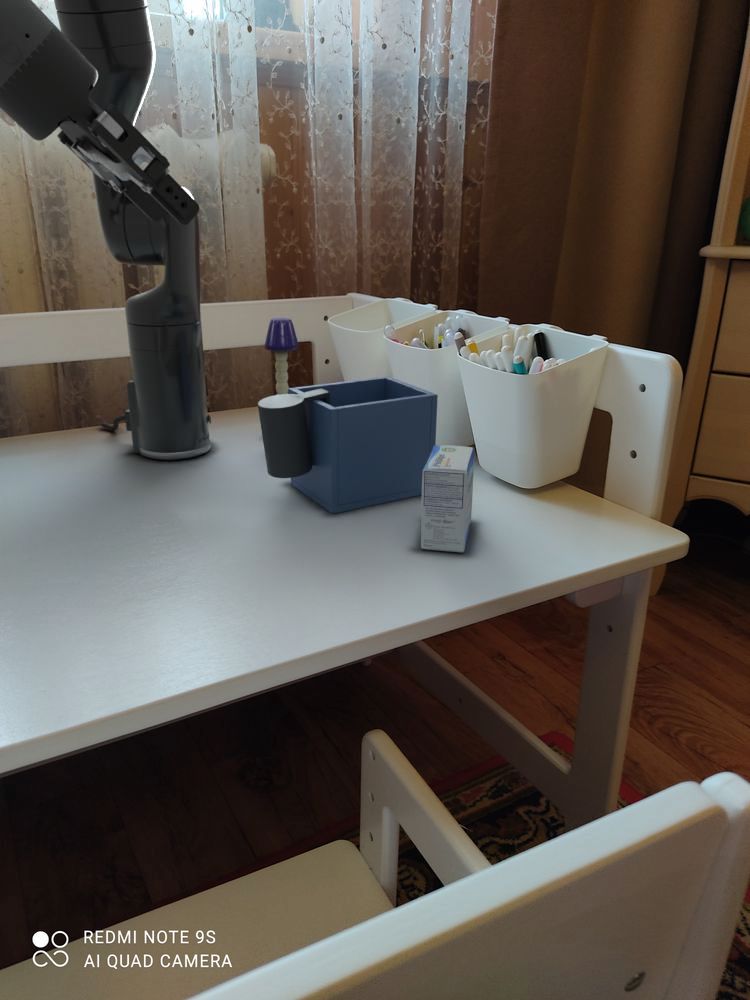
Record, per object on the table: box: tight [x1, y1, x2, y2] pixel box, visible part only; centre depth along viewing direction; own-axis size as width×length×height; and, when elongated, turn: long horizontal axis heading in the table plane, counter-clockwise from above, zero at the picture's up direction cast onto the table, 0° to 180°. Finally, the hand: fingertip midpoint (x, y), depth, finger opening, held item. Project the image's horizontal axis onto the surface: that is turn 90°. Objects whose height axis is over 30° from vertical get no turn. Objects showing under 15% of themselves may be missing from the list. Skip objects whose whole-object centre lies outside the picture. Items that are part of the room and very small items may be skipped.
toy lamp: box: [264, 317, 299, 395], centre depth 108 cm, size 5×5×17 cm
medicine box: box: [420, 444, 476, 554], centre depth 78 cm, size 8×4×9 cm, turn 168°
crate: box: [287, 375, 439, 515], centre depth 90 cm, size 14×11×12 cm
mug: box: [257, 389, 331, 479], centre depth 85 cm, size 8×5×8 cm, turn 121°
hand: (176, 216), depth 69 cm, fingers open, 8 cm apart
